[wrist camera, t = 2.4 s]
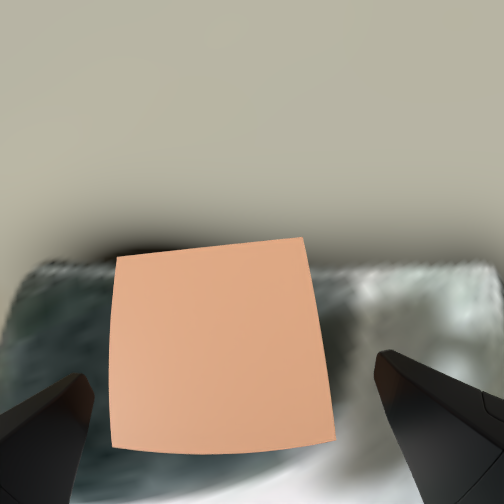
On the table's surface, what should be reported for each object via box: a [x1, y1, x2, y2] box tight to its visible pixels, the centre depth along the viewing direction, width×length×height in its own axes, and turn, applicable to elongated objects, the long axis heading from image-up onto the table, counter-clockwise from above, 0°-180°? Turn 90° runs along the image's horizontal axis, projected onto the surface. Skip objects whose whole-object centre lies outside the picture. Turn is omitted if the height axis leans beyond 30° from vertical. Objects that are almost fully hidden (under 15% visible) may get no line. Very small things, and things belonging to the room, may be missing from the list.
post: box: [109, 237, 336, 454], centre depth 11 cm, size 5×5×11 cm
